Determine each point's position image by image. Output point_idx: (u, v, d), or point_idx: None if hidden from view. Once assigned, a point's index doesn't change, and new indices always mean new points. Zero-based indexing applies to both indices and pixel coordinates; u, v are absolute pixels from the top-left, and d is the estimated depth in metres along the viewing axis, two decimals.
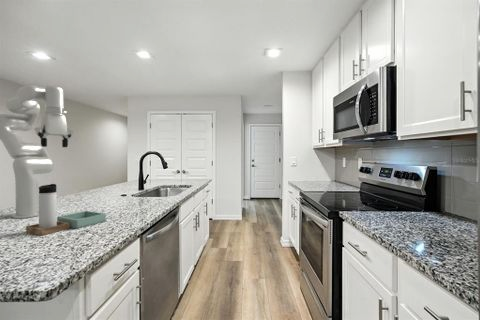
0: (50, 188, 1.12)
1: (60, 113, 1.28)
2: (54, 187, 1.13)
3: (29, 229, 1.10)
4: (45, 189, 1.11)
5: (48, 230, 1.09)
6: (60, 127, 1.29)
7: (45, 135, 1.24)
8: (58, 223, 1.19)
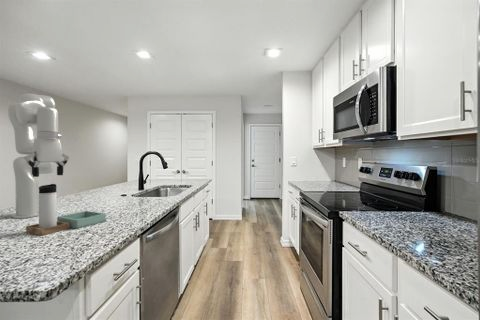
0: (50, 188, 1.12)
1: (54, 137, 1.12)
2: (54, 187, 1.13)
3: (29, 229, 1.10)
4: (45, 189, 1.11)
5: (48, 230, 1.09)
6: (54, 153, 1.13)
7: (37, 164, 1.08)
8: (58, 223, 1.19)
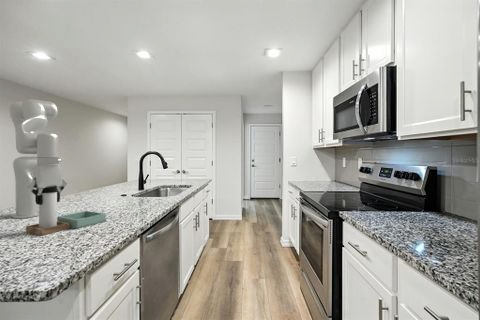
0: (50, 188, 1.12)
1: (54, 163, 1.12)
2: (54, 187, 1.13)
3: (29, 229, 1.10)
4: (45, 189, 1.11)
5: (48, 230, 1.09)
6: (54, 179, 1.14)
7: (40, 192, 1.09)
8: (58, 223, 1.19)
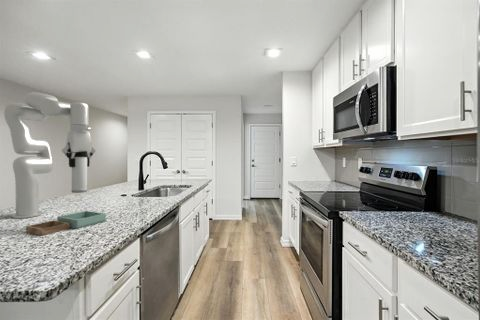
0: (82, 152, 1.22)
1: (85, 130, 1.23)
2: (85, 152, 1.24)
3: (29, 229, 1.10)
4: (78, 153, 1.21)
5: (48, 230, 1.09)
6: (85, 144, 1.24)
7: (73, 155, 1.20)
8: (58, 223, 1.19)
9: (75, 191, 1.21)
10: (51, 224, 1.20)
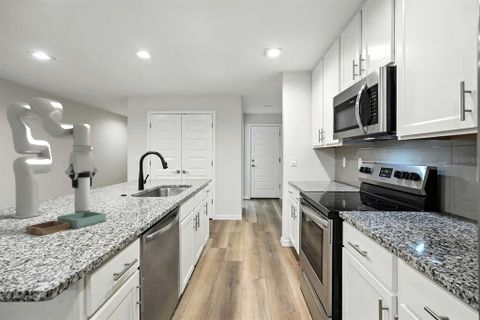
0: (85, 173, 1.24)
1: (88, 151, 1.24)
2: (88, 172, 1.25)
3: (29, 229, 1.10)
4: (81, 174, 1.23)
5: (48, 230, 1.09)
6: (87, 165, 1.25)
7: (76, 176, 1.21)
8: (58, 223, 1.19)
9: (78, 211, 1.23)
10: (51, 224, 1.20)
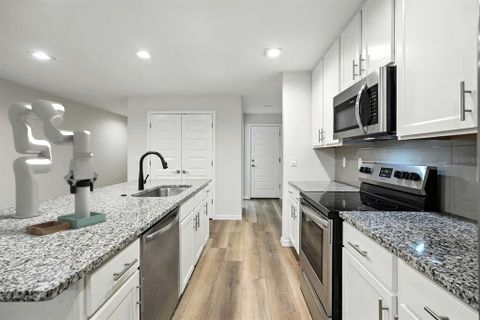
0: (85, 183, 1.24)
1: (88, 157, 1.24)
2: (88, 182, 1.26)
3: (29, 229, 1.10)
4: (81, 183, 1.23)
5: (48, 230, 1.09)
6: (87, 171, 1.26)
7: (74, 182, 1.21)
8: (58, 223, 1.19)
9: None
10: (51, 224, 1.20)
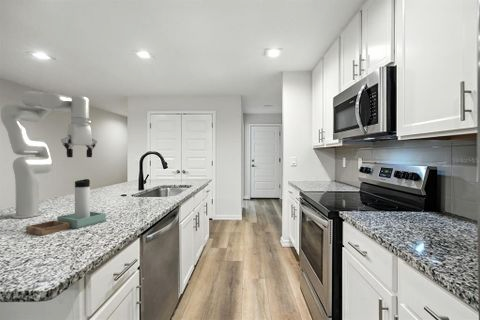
0: (85, 183, 1.24)
1: (86, 123, 1.26)
2: (88, 182, 1.26)
3: (29, 229, 1.10)
4: (81, 183, 1.23)
5: (48, 230, 1.09)
6: (85, 137, 1.27)
7: (71, 146, 1.22)
8: (58, 223, 1.19)
9: None
10: (51, 224, 1.20)
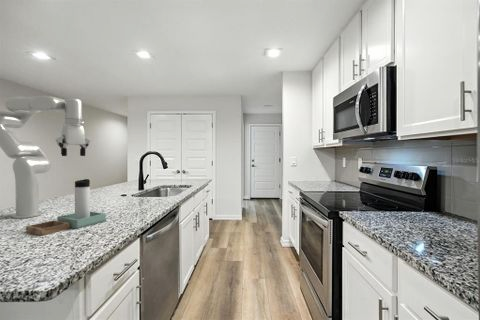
0: (85, 183, 1.24)
1: (79, 124, 1.34)
2: (88, 182, 1.26)
3: (29, 229, 1.10)
4: (81, 183, 1.23)
5: (48, 230, 1.09)
6: (79, 137, 1.36)
7: (65, 145, 1.30)
8: (58, 223, 1.19)
9: None
10: (51, 224, 1.20)
